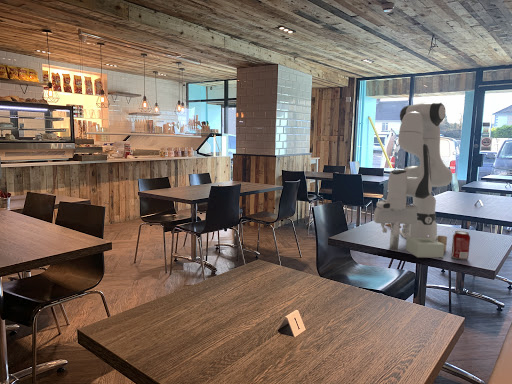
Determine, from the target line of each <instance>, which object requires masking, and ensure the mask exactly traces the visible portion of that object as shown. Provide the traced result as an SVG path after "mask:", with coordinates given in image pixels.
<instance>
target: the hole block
mask: <svg viewBox="0 0 512 384" xmlns="http://www.w3.org/2000/svg"><path fill="white" fill-rule="evenodd" d="M405 241H406V243H405V251H407V252H408V253H410V254H412V255H413V256H415V257H416V258H439V257H442V258H444V253H445V252H444V244H442V243H440V242H438V241H437V239H436V240H434V239H432V238H405Z"/></svg>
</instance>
